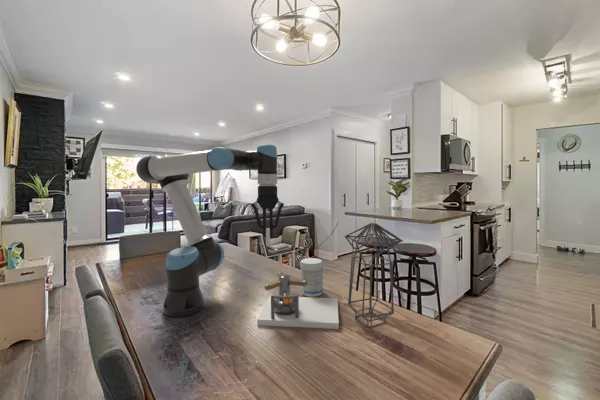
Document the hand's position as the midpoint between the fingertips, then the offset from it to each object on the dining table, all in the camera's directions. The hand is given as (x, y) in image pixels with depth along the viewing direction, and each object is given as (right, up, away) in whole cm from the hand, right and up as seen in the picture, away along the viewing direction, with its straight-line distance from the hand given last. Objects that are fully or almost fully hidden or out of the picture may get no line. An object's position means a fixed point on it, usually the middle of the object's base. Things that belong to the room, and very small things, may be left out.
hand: (268, 245), depth 112 cm
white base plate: (+13, -25, -5) cm, 28 cm away
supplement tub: (+18, -24, +13) cm, 33 cm away
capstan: (+7, -23, -3) cm, 24 cm away
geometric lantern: (+38, -25, -10) cm, 47 cm away
